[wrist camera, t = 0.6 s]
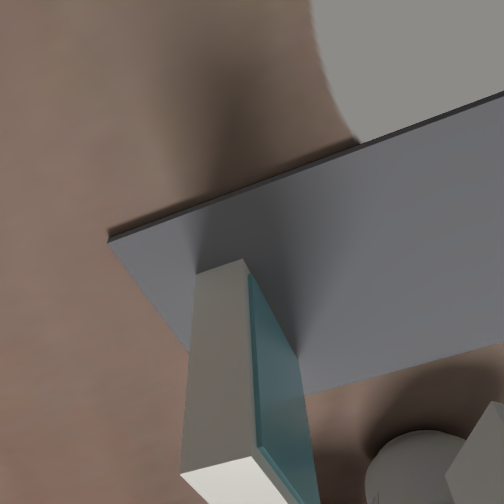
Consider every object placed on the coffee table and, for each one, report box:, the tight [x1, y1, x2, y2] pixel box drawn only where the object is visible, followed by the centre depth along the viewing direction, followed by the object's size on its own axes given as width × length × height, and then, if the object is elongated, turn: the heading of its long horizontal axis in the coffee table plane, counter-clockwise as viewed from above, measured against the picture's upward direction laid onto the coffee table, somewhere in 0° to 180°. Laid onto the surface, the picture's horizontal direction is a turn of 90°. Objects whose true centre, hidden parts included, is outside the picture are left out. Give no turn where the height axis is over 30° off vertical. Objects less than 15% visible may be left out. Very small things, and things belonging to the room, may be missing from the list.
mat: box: [107, 91, 504, 396], centre depth 30 cm, size 22×18×1 cm
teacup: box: [365, 430, 466, 504], centre depth 40 cm, size 14×11×8 cm
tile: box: [180, 258, 320, 504], centre depth 26 cm, size 3×10×12 cm, turn 22°
